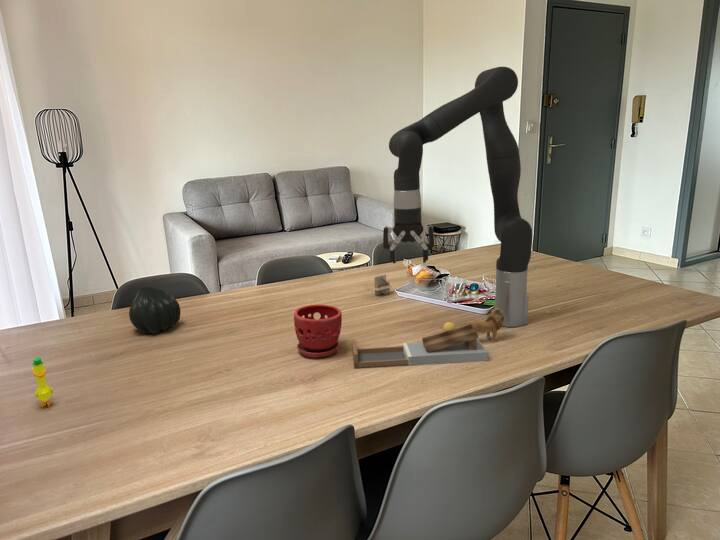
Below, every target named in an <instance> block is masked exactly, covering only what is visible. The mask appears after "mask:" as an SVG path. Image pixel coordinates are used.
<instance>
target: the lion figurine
mask: <svg viewBox="0 0 720 540" xmlns="http://www.w3.org/2000/svg"><path fill="white" fill-rule="evenodd" d="M490 312H491V313H490V314H489V315H488V318H486V319H483V320H475V319H474V320H470V321H468V322H467V323H466V325H468V324H472V327H473V330H474V331H477V333H478V334H479V333H480V334H486V337H485V338H486V339H487V340H491V339H492V341H493V343H494V342H495V343H498V339H496V338H497V335H498V331H499V330H501V329H502V327H503V326H502V325H503V322H504V317H505V315H504V312H503V310H502V309H499V308H495V307H494V309H492V310H491V311H490ZM491 334H492V336H491Z"/></svg>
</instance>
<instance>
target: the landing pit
mask: <svg viewBox="0 0 720 540" xmlns="http://www.w3.org/2000/svg"><path fill="white" fill-rule="evenodd" d="M351 346H352V349H351V351H352V352H351V353H352V354H351V355H352V360H353V367H354V368H353V369H355V370H357V369H369V368H387V367H388V368H389V367H405V366H409V365H408V359H406V357H405V355H404V352H403V345H400V346H399V345H398V346H396V345H395V346H384V347H383V346H381V347H380V346H379V347H364V348H358V347H357V341H356V340H351Z"/></svg>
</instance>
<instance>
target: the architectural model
mask: <svg viewBox="0 0 720 540" xmlns="http://www.w3.org/2000/svg"><path fill="white" fill-rule="evenodd" d="M373 280H374V281H373V283H374V287H372V290H373V291H374V296H378V295H383V294H384V295H386V294H390V292H391V290H390V289H391V288H392V287H393V286H392V285H391V284H390V282H389V281H387V274H383V275H378V276H374V277H373Z"/></svg>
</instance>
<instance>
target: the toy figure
mask: <svg viewBox="0 0 720 540" xmlns="http://www.w3.org/2000/svg"><path fill="white" fill-rule="evenodd" d="M32 361H33V363H32V375H33V377H34V379H35V380H36V383H37V385H38V387H37V388H36V390H35V392H34V395H35V397H36V398H37V400H39V401H40V406H41V405H42V406H46V407H47V405H50V403H51V400H50V398H51V396H52V394H54V389H53V387H50V386H49V385H47V376H46V374H47V369H46V368H45V364H44V361H43V360H42V358H41V357H36V358H35V357H34V358H33V359H32ZM46 404H47V405H46ZM42 406H41V407H42ZM50 406H51V405H50Z"/></svg>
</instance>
